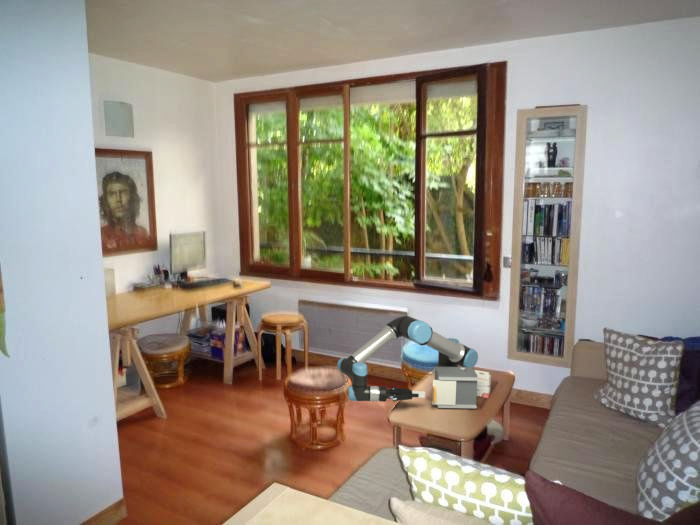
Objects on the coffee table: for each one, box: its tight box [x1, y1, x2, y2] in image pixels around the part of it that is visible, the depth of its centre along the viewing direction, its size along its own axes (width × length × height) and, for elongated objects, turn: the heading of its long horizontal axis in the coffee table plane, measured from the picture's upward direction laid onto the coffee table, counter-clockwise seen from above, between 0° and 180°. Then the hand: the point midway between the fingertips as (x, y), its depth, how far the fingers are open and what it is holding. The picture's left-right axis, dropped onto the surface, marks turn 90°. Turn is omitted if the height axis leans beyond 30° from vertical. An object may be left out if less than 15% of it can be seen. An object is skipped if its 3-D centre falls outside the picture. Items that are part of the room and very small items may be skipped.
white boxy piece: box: [431, 379, 456, 406], centre depth 258 cm, size 6×12×13 cm, turn 89°
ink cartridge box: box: [474, 369, 492, 399], centre depth 278 cm, size 9×5×15 cm, turn 62°
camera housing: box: [434, 366, 478, 410], centre depth 266 cm, size 14×20×19 cm
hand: (424, 394), depth 258 cm, fingers closed
